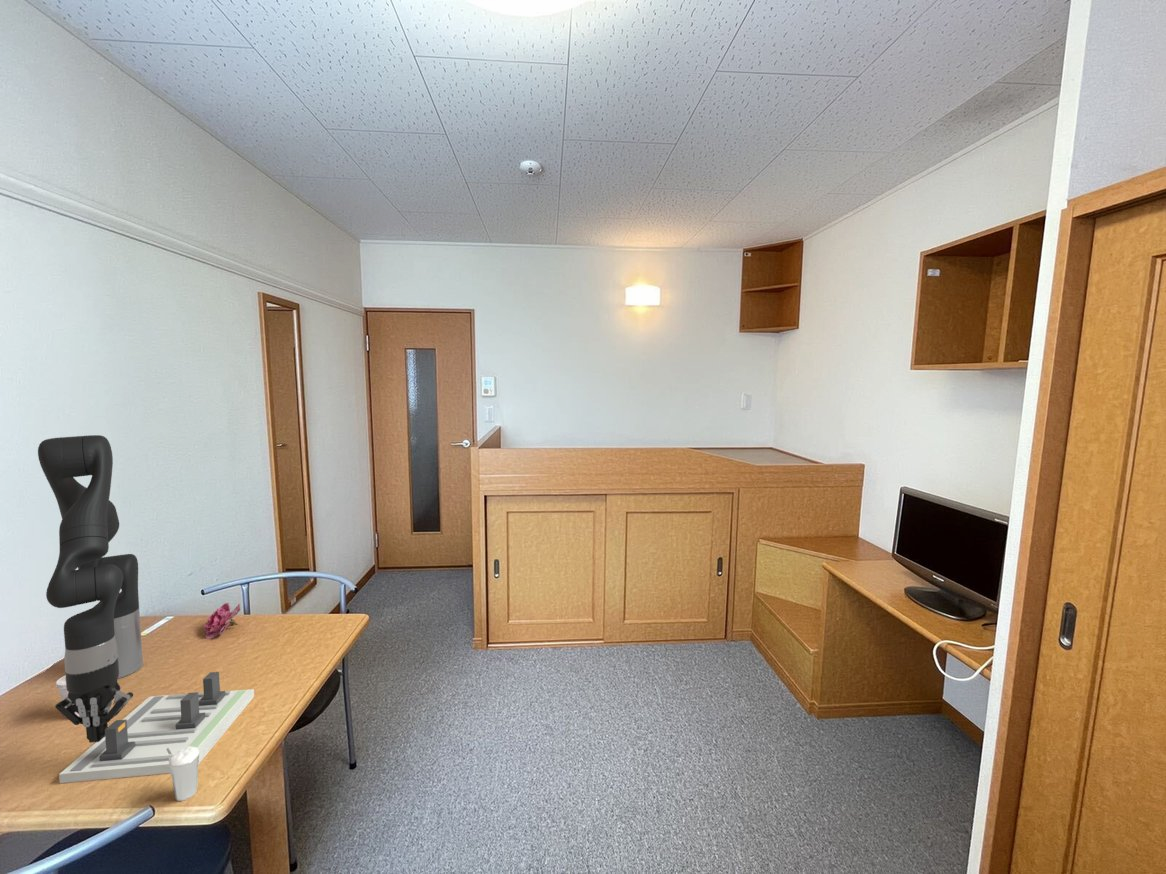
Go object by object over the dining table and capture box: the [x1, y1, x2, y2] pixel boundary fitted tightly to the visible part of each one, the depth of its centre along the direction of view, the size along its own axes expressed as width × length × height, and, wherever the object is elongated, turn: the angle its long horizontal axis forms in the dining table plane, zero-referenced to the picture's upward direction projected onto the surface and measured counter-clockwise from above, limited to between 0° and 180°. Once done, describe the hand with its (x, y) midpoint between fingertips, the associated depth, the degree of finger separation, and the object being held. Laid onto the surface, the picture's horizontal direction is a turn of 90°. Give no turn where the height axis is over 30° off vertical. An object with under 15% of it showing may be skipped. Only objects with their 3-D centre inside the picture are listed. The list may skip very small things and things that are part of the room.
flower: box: [203, 602, 241, 640], centre depth 151 cm, size 11×10×10 cm
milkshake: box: [166, 746, 199, 802], centre depth 91 cm, size 4×5×10 cm
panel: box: [58, 671, 255, 784], centre depth 106 cm, size 24×24×9 cm
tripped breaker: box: [99, 719, 135, 761], centre depth 98 cm, size 4×4×7 cm
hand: (98, 739), depth 97 cm, fingers closed
